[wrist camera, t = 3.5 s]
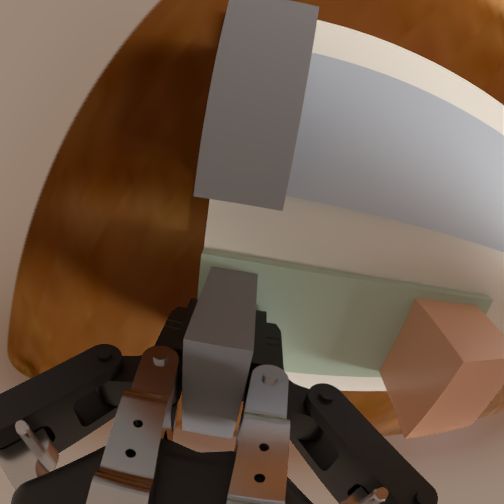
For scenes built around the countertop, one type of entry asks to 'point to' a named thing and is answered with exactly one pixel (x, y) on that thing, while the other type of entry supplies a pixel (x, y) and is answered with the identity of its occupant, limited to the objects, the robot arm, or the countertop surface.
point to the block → (443, 367)
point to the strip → (340, 133)
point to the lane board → (363, 224)
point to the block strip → (288, 327)
